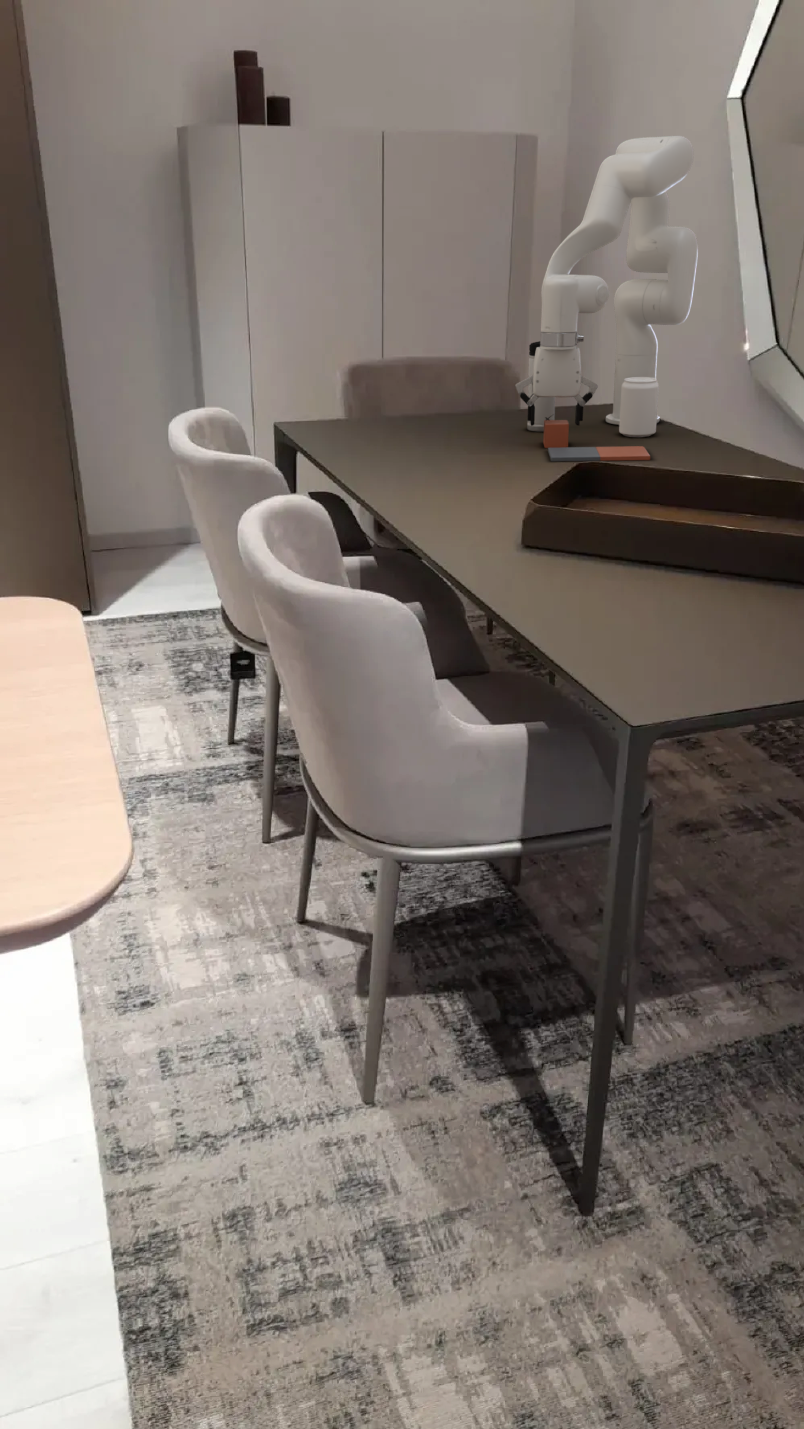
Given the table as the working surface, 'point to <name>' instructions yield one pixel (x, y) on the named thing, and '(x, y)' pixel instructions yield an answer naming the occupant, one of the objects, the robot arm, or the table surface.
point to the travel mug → (539, 399)
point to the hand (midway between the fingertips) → (554, 424)
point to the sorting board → (598, 453)
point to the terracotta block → (555, 433)
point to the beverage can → (638, 406)
